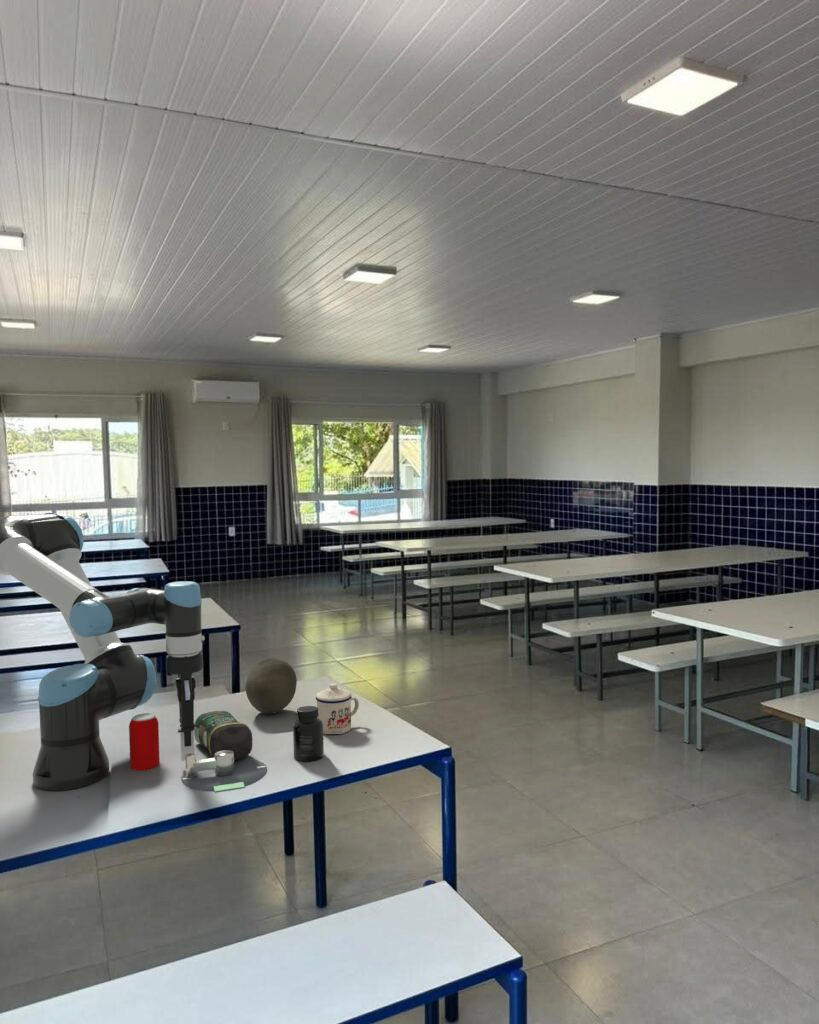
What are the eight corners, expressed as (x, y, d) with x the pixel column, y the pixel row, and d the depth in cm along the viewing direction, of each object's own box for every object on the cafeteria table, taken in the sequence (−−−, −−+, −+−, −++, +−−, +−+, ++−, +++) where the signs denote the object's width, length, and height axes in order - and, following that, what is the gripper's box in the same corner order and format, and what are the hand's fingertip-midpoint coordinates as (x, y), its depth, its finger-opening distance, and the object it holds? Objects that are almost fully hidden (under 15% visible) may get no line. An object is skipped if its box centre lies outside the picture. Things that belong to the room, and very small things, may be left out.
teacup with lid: (328, 738, 182) (327, 692, 181) (309, 728, 189) (308, 683, 188) (368, 727, 189) (367, 683, 188) (348, 718, 196) (348, 675, 196)
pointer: (232, 767, 161) (232, 745, 161) (235, 773, 158) (234, 752, 157) (185, 774, 158) (184, 752, 158) (186, 781, 154) (186, 759, 154)
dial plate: (184, 802, 147) (183, 796, 147) (178, 768, 164) (178, 763, 164) (274, 787, 154) (273, 781, 154) (260, 756, 170) (259, 751, 170)
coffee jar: (231, 707, 182) (256, 724, 166) (232, 739, 182) (256, 759, 166) (192, 712, 177) (213, 730, 161) (192, 745, 177) (214, 767, 161)
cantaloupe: (236, 712, 202) (235, 658, 201) (283, 702, 211) (281, 650, 210) (259, 726, 191) (258, 669, 190) (307, 715, 199) (306, 660, 199)
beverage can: (125, 774, 161) (123, 720, 161) (139, 763, 167) (137, 711, 167) (151, 775, 160) (149, 721, 160) (164, 764, 167) (163, 712, 166)
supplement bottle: (330, 758, 169) (329, 707, 168) (310, 768, 163) (308, 715, 162) (307, 752, 173) (306, 702, 172) (287, 762, 167) (286, 710, 166)
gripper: (205, 658, 156) (208, 767, 157) (199, 644, 168) (202, 746, 170) (168, 661, 153) (171, 772, 155) (165, 648, 166) (168, 751, 167)
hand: (187, 758), depth 162 cm, fingers closed
